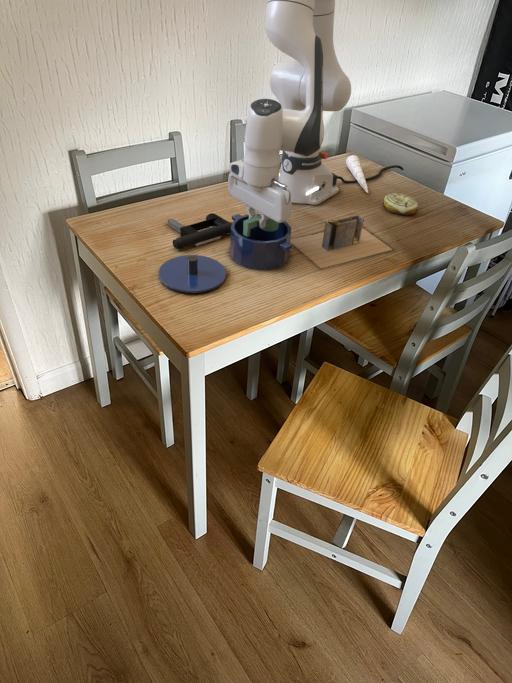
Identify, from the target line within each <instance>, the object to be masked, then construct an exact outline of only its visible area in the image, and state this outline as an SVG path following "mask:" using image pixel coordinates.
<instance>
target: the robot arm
mask: <svg viewBox="0 0 512 683" xmlns="http://www.w3.org/2000/svg"><path fill="white" fill-rule="evenodd" d="M335 9H336V0H266V7H265V14H264V30H265V34H266V36H267V38H268V40H269V42H270V43H271V44H272V45H273V46H274V47H275V48H277V50H279V51H280V52H281V53H283V54H284V55H286V56H288V57H290V58H291V60H280V61H278V62H276V64H275V65H274V66H273V67H272V70H271V72H270V74H269V88H270V90H271V93H272V94H273V95H274V97H276V99H277V100H275V99H271V98H259V99H256V100H254V101H253V102H251V103H250V105H249V107H248V112H247V117H246V120H245V127H244V146H245V152H244V156H243V159H239V160H235V161H232V162H229V164H228V170H229V174H228V178H227V180H228V181H227V192H228V194H229V196H230V197H231V198H233V199H235V200H236V201H238V202H240V203H243V204H244V205H246V206H245V208H246V212H247V215H249V219H250V218H253V217H256V216H257V215H256V214H257V213H259V214H261V217H262V218H261V219H260V220H257V223H258V224H257V226H258V227H260V228H264V227H265V226H266V221H267V219H268V218H271V219H273V220H274V221H276V222H278V223H282V222H285V221H286V222H287V221H289V220H290V219H291V218H292V204H308V205H314V206H317V205H319V204H321V203H323V202H324V201H326V200H328V199H330V197H332V196H334V195H335V194H337V193H339V190H340V189H339V187H338V186H337V181H338V180H340V181H341V182H342V183H343V184H356V183H358V181H357V180H356V179H354V180H346V179H344V177H342V176H339V175H337V174H335V173H334V172H332V171H331V170H330V169H329V168H328V167H327V166H326V165H325V164H324V163H322V159H323V160H327V159H328V157H329V153H328V152H324V151H320V150H321V148H322V145H323V142H324V139H325V138H324V137H325V124H324V117H323V116H324V115H323V114H324V113H323V112H340V111H341V110H343V108H345V107H346V106H347V104H348V103H349V101H350V98H351V95H352V84H351V83H352V82H351V80H350V77H349V76H348V75H347V74H346V73H345V72H344V70H343V69H342V67H341V65H340V63H339V61H338V57H337V55H336V51H335V45H334V25H335V24H334V23H335ZM280 151H281V152H282V153H281V157H280ZM390 169H399V170H401V171H404V170H405V169H404V168H403V167H402V166H401V165H400V164H399V165H397V164H394V165H389V166H386V167H383V168H381V169H380V170H379V171H378V173H377V174H375V175H373V176H370V177H365V180H366V182H367V181H371V180H374V179H376V178H378V177H380V176H381V174H382V172H385V171H386V170H390ZM256 211H257V213H256Z"/></svg>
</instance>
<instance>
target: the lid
mask: <svg viewBox="0 0 512 683" xmlns="http://www.w3.org/2000/svg"><path fill="white" fill-rule="evenodd" d="M226 276H227V272H226V269H225V267H224V265H223V264H222V263H221V262H220V261H218V260H216V259H214V258H212V257H209V256H205V255H199V254H185V255H178V256H175V257H172V258H170V259H168V260H166V261H165V262H163V263H162V264H161V266H160V267H159V269H158V278H159V280H160V282H161V283H162V284H163V285H164V286H166V287H167V288H168V289H170V290H173V291H175V292H179V293H185V294H199V293H207V292H210V291H212V290H215V289H217V288H218V287H220V286H221V285H222V284H223V283H224V282H225V280H226V278H227V277H226Z"/></svg>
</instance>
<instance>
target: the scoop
mask: <svg viewBox="0 0 512 683" xmlns="http://www.w3.org/2000/svg"><path fill="white" fill-rule="evenodd" d="M261 218H262V217H261V215H259V216H256V217H253V218H250V219H247V220H245V221H244V223H243V227H244V228H243V235H245V236H246V237H248V236H250V229H251V228H254V227H257V224H258V223H257V220H260V219H261ZM278 227H279V223H278V222H276V221H274V220H273V219H271V218H268V219H267V221H266V226H265V227H264V228H261V229H262V230H264V231H276V230H277V229H278Z"/></svg>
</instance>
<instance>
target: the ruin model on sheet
mask: <svg viewBox="0 0 512 683" xmlns="http://www.w3.org/2000/svg"><path fill="white" fill-rule="evenodd" d="M364 220H365V218H364V217H362V216H361V215H359V214H356V215H355V214H354V215H351V216H347V217H342V218H340V217H338V218H337V219H336V218H335V219H327V221H325V223H324V230H323V232H319V233H314V234H311V235H306V236H302V237H296V238H292V239H290V244H291V245H293V246H294V247H296V249H297V250H299V251H300V252H301V253H302V254H304V256H306V257H307V258H308V259H309V260H310V261H312V262H313V263H314V264H315V265H316V266H317V267H318V268H320V269H325V268H329V267H332V266H336V265H340V264H344V263H347V262H351V261H355V260H359V259H363V258H366V257H369V256H374V255H377V254H383V253H386V252H389V251H393V248H391V247H390V246H388V245H387V244H386V243H384V242H383V241H381V240H380V239H378V238H377V236H374V235H373V234H372V233H370V232H369V231H367V230H366V229H364V228H363V225H364Z"/></svg>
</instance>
